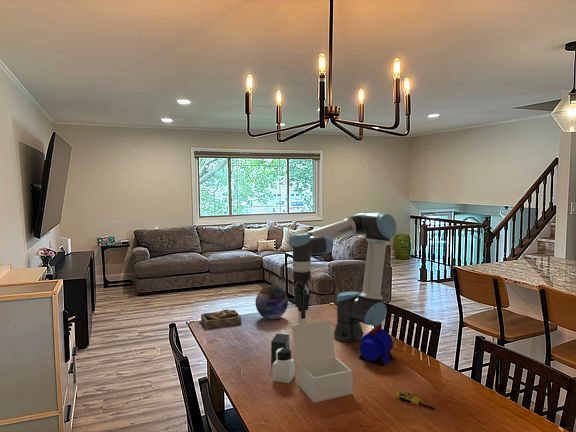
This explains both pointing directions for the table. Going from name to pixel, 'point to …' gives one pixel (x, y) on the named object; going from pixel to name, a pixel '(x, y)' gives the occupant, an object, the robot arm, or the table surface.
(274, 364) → the medicine bottle
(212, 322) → the filled wooden tray
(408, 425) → the table surface
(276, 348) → the small box
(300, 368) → the carton
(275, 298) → the decorative sphere
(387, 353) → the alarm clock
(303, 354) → the lid
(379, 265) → the robot arm
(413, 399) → the yellow black screwdriver
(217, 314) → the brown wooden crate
